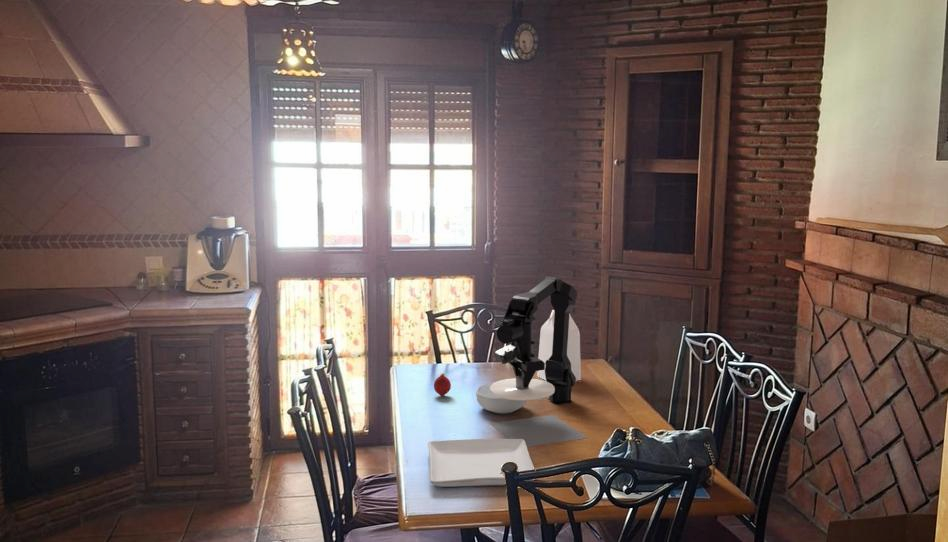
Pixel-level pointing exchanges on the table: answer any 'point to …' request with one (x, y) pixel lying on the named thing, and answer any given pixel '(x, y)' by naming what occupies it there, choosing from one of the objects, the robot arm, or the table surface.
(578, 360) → the milk
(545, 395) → the lid
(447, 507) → the table surface
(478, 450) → the square plate
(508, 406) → the cereal bowl
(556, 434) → the mat
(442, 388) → the onion
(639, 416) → the table surface
